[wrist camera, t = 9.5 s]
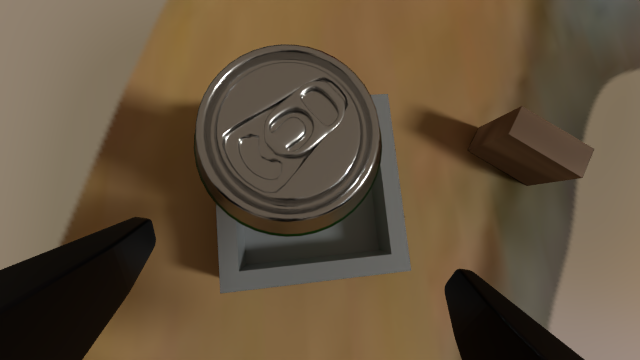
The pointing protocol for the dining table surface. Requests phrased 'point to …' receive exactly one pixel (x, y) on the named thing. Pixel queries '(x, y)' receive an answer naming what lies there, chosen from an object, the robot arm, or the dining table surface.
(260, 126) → the soda can
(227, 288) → the tray
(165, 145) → the dining table surface
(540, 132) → the brown rectangular block
